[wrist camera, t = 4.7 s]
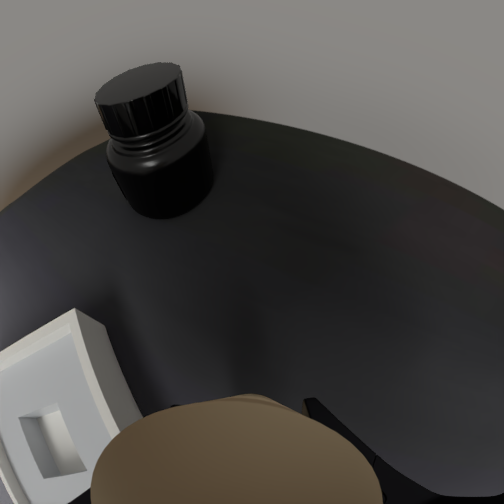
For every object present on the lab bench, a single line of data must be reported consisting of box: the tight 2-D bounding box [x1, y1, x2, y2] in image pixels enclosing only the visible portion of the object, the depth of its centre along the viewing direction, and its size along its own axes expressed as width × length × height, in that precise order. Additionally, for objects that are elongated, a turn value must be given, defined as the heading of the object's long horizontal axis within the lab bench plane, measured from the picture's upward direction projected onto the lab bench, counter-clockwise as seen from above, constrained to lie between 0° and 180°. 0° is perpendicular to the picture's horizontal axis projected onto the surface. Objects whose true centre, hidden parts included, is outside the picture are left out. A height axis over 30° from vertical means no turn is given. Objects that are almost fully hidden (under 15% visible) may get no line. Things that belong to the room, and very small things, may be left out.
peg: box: [91, 394, 383, 504], centre depth 8 cm, size 4×4×13 cm
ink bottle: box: [94, 62, 213, 219], centre depth 21 cm, size 10×9×12 cm
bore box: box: [0, 308, 143, 504], centre depth 12 cm, size 16×16×4 cm
